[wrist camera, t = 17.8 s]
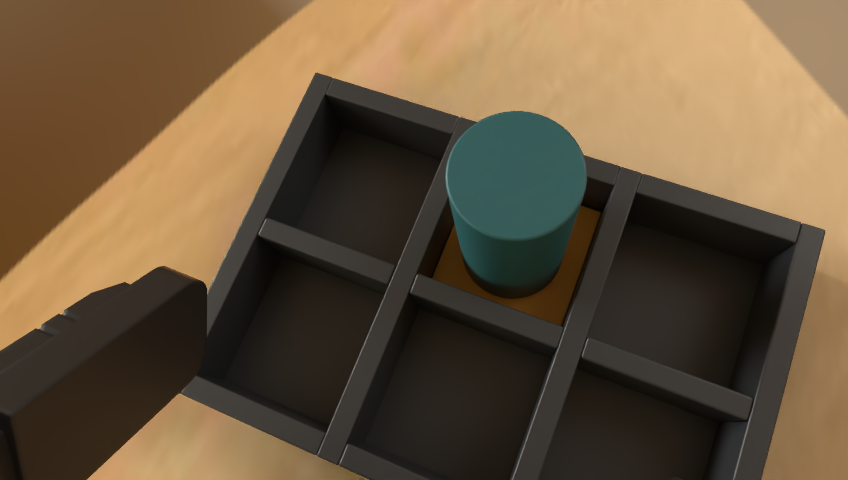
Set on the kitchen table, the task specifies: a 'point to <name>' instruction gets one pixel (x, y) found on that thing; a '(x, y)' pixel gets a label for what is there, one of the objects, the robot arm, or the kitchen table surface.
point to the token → (515, 200)
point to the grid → (497, 317)
